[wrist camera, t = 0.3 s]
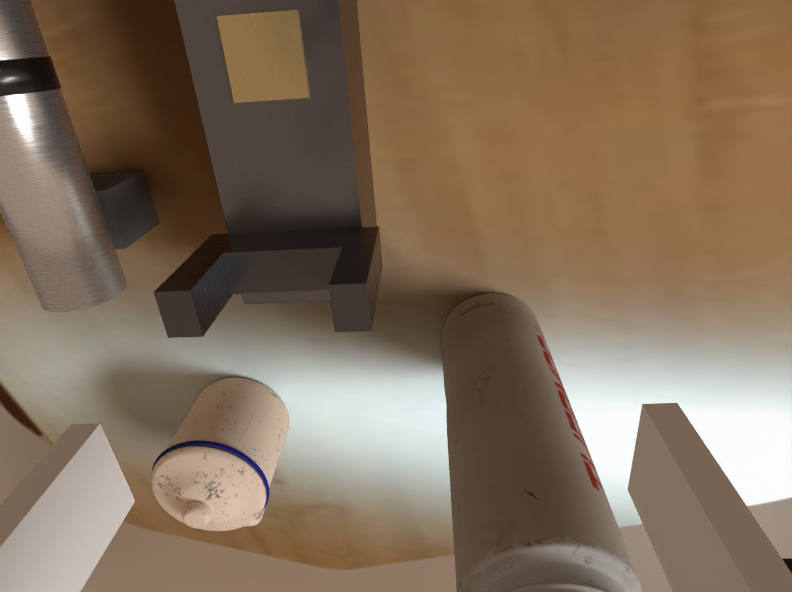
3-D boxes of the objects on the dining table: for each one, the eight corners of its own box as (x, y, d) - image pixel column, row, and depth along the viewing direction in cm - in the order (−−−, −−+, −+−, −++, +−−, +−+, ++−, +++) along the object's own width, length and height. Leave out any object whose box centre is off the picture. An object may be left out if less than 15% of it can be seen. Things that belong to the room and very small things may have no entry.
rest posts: (-17, -142, 29) (-95, -172, 25) (50, -149, 29) (-17, -180, 25) (108, 225, 39) (68, 251, 35) (159, 223, 39) (125, 248, 35)
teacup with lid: (177, 383, 46) (107, 486, 36) (271, 364, 45) (226, 465, 34) (231, 478, 52) (183, 591, 41) (316, 464, 50) (289, 577, 40)
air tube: (-126, -226, 24) (-254, -283, 20) (-25, -239, 24) (-132, -301, 19) (72, 277, 36) (21, 313, 32) (142, 275, 36) (100, 311, 31)
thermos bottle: (536, 285, 40) (721, 705, 15) (541, 369, 44) (697, 818, 19) (434, 299, 41) (453, 714, 16) (447, 380, 45) (479, 820, 20)
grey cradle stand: (164, -236, 27) (-100, -505, 13) (352, -259, 26) (278, -565, 13) (263, 255, 40) (180, 375, 26) (392, 249, 39) (375, 369, 26)
